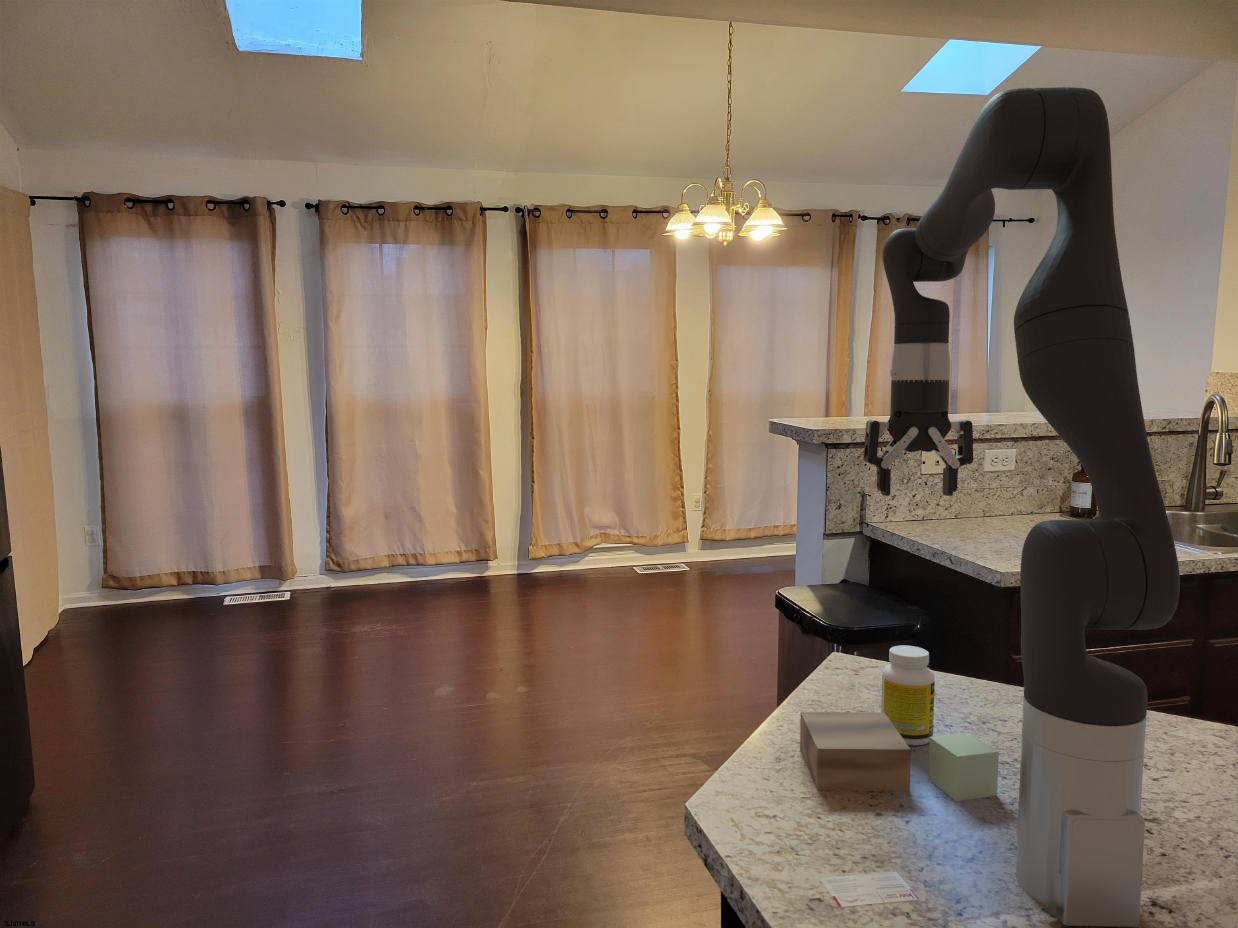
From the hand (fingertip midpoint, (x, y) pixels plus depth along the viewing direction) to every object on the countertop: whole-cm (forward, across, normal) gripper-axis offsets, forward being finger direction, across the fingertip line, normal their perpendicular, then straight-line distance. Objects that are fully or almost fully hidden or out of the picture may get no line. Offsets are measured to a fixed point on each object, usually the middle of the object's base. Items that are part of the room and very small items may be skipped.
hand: (916, 495), depth 115 cm
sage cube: (+29, -3, -27) cm, 40 cm away
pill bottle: (+29, -5, -14) cm, 32 cm away
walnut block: (+29, -14, -23) cm, 39 cm away
